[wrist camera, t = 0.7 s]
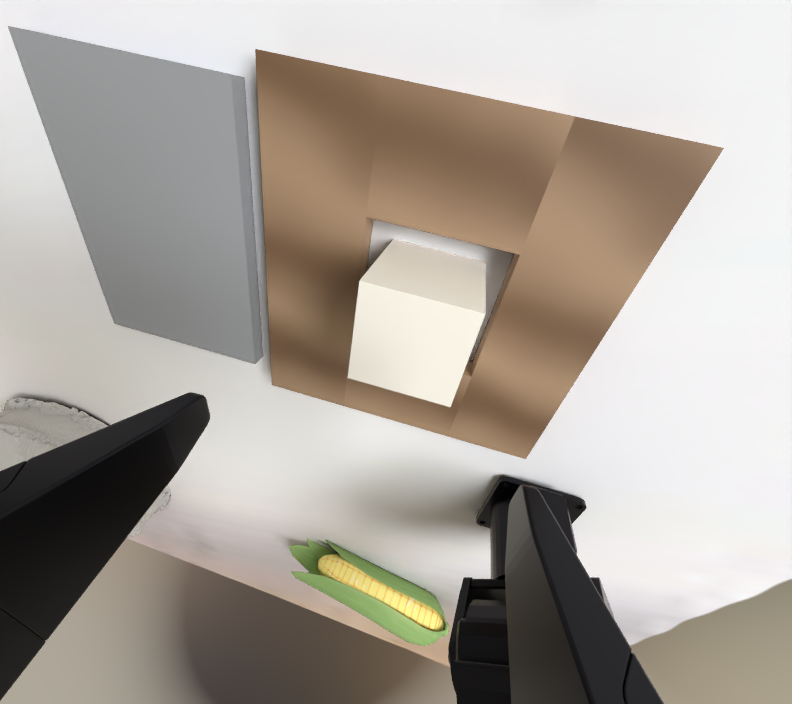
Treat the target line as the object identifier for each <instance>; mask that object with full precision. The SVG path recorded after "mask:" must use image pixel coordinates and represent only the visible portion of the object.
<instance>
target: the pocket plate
mask: <svg viewBox="0 0 792 704" xmlns="http://www.w3.org/2000/svg"><path fill="white" fill-rule="evenodd" d="M255 51H256V71H257V91H258V112H259V132H260V152H261V173H262V193H263V213H264V233H265V254H266V274H267V294H268V315H269V335H270V355H271V375H272V385H274V386H278V387H281V388H285V389H288V390H291V391H295V392H298V393H302V394H305V395H309V396H312V397H315V398H319V399H322V400H326V401H329V402H332V403H336V404H339V405H343V406H346V407H350V408H353V409H356V410H360V411H363V412H367V413H370V414H374V415H377V416H380V417H384V418H387V419H391V420H394V421H397V422H401V423H404V424H408V425H411V426H415V427H418V428H421V429H425V430H428V431H432V432H435V433H439V434H442V435H445V436H449V437H452V438H456V439H459V440H463V441H466V442H469V443H473V444H476V445H480V446H483V447H486V448H490V449H493V450H497V451H500V452H504V453H507V454H510V455H514V456H517V457H521V458H524V459H526V458H527V456H528V455H529V453H530V451H531V450H532V448H533V447H534V445H535V444H536V442H537V440H538V439H539V437H540V436H541V434H542V433H543V431H544V430H545V428H546V426H547V425H548V423H549V422H550V420H551V419H552V417H553V415H554V414H555V412H556V411H557V409H558V408H559V406H560V404H561V403H562V401H563V400H564V398H565V397H566V395H567V393H568V392H569V390H570V389H571V387H572V386H573V384H574V382H575V381H576V379H577V378H578V376H579V375H580V373H581V371H582V370H583V368H584V367H585V365H586V364H587V362H588V360H589V359H590V357H591V356H592V354H593V353H594V351H595V349H596V348H597V346H598V345H599V343H600V342H601V340H602V339H603V337H604V335H605V334H606V332H607V331H608V329H609V328H610V326H611V324H612V323H613V321H614V320H615V318H616V317H617V315H618V313H619V312H620V310H621V309H622V307H623V306H624V304H625V302H626V301H627V299H628V298H629V296H630V295H631V293H632V291H633V290H634V288H635V287H636V285H637V284H638V282H639V280H640V279H641V277H642V276H643V274H644V273H645V271H646V269H647V268H648V266H649V265H650V263H651V262H652V260H653V258H654V257H655V255H656V254H657V252H658V251H659V249H660V247H661V246H662V244H663V243H664V241H665V240H666V238H667V237H668V235H669V233H670V232H671V230H672V229H673V227H674V226H675V224H676V222H677V221H678V219H679V218H680V216H681V215H682V213H683V211H684V210H685V208H686V207H687V205H688V204H689V202H690V200H691V199H692V197H693V196H694V194H695V193H696V191H697V189H698V188H699V186H700V185H701V183H702V182H703V180H704V178H705V177H706V175H707V174H708V172H709V171H710V169H711V167H712V166H713V164H714V163H715V161H716V160H717V158H718V156H719V155H720V153H721V152H722V150H723V149H724V148H721V147H717V146H712V145H707V144H702V143H698V142H693V141H688V140H683V139H679V138H674V137H669V136H664V135H660V134H655V133H650V132H646V131H641V130H636V129H631V128H627V127H622V126H617V125H612V124H608V123H603V122H598V121H593V120H589V119H584V118H579V117H575V116H570V115H565V114H560V113H556V112H551V111H546V110H541V109H537V108H532V107H527V106H522V105H518V104H513V103H508V102H503V101H499V100H494V99H489V98H485V97H480V96H475V95H470V94H466V93H461V92H456V91H451V90H447V89H442V88H437V87H432V86H428V85H423V84H418V83H413V82H409V81H404V80H399V79H395V78H390V77H385V76H380V75H376V74H371V73H366V72H361V71H357V70H352V69H347V68H342V67H338V66H333V65H328V64H324V63H319V62H314V61H309V60H305V59H300V58H295V57H290V56H286V55H281V54H276V53H271V52H267V51H262V50H257V49H255ZM373 219H376V220H380V221H384V222H388V223H393V224H397V225H401V226H405V227H409V228H413V229H417V230H421V231H425V232H429V233H433V234H437V235H441V236H445V237H450V238H454V239H458V240H462V241H466V242H470V243H474V244H478V245H482V246H486V247H490V248H494V249H498V250H502V251H507V252H511V253H514V256H513V259H512V261H511V264H510V266H509V269H508V272H507V274H506V277H505V279H504V282H503V284H502V287H501V290H500V292H499V295H498V297H497V300H496V302H495V305H494V308H493V310H492V313H491V315H490V318H489V321H488V323H487V326H486V328H485V331H484V333H483V336H482V339H481V341H480V344H479V346H478V349H477V351H476V354H475V357H474V359H473V362H470V361H468V362H467V365H466V367H465V370H464V373H463V375H462V378H461V381H460V383H459V386H458V389H457V391H456V394H455V397H454V399H453V402H452V405H451V407H448V406H444V405H441V404H437V403H434V402H430V401H427V400H423V399H420V398H416V397H413V396H409V395H406V394H402V393H399V392H395V391H392V390H388V389H385V388H381V387H378V386H374V385H371V384H367V383H364V382H360V381H357V380H353V379H350V378H348V370H349V362H350V353H351V345H352V337H353V329H354V321H355V312H356V304H357V296H358V288H359V281H360V279H361V278H362V277H363V276H364V274H365V273H366V271H367V264H368V256H369V249H370V241H371V234H372V226H373Z"/></svg>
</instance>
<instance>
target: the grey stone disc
mask: <svg viewBox="0 0 792 704" xmlns="http://www.w3.org/2000/svg"><path fill="white" fill-rule="evenodd" d="M107 426H108V425H106V424H104V423H103V422H101V421H98V420H97V419H95V418H93V417H90V416H89V415H88V414H87V413H85V412H83V411H80V412H78V409H76V408H74V407H72V408H71V409H69V408H68V407H65V406H64V405H60V404H58V403H55V402H48V400H47V402H46V403H45V402H44V401H38V400H35V399H34V400H33V399H25V398H21V397H18V398H14V399H13V400H7V403H6V404H5V407H4V411H3V413H0V470H4V469H6V468H9V467H11V466H13V465H16V464H18V463H21V462H23V461H28V460H29V459H30V458H33V457H35V456H38V455H40V454H42V453H45V452H47V451H50V450H52V449H54V448H57V447H59V446H62V445H64V444H66V443H69V442H71V441H74V440H76V439H78V438H81V437H83V436H86V435H88V434H90V433H93V432H95V431H98V430H100V429H102V428H105V427H107ZM170 493H171V492H170V489H169V488H168V486H166V487H165V488H164V490H163V491H162V492H161V494H160V495H159V496H158V498H157V499H156V500H155V501H154V503H153V504H152V505H151V507H150V508H149V509H148V510H147V512H146V513H145V514H144V516H143V517H142V518H141V519H140V521H139V522H138V523H137V525H136V526H135V527H134V528H133V530H132V531H131V532H130V534H129V535H128V536H127V537H128V538H129V537H133V536H134V535H137V534H138V533H141V530H142V526H143V525H144V523H145V522H146V521H147V520H148V519H149V518H150V517H151V515H152V514H153V513H156V512H159V511H160V510H163V508H164V507H165V506H166V505H167V504H168V501H169V499H170Z"/></svg>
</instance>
